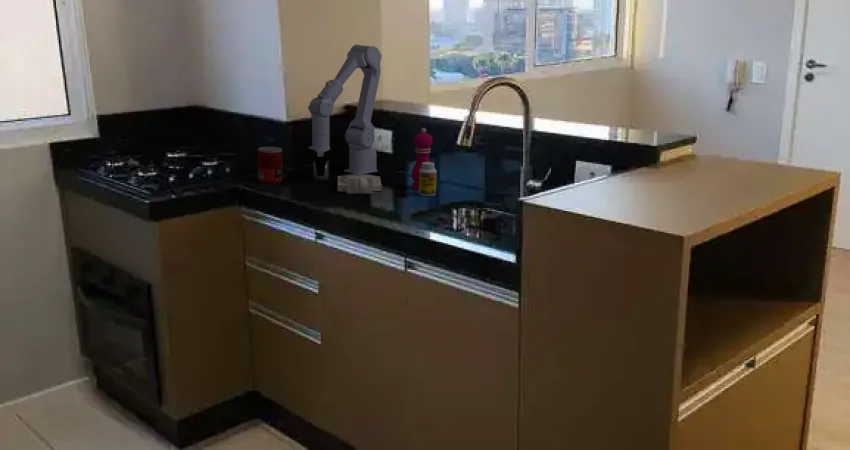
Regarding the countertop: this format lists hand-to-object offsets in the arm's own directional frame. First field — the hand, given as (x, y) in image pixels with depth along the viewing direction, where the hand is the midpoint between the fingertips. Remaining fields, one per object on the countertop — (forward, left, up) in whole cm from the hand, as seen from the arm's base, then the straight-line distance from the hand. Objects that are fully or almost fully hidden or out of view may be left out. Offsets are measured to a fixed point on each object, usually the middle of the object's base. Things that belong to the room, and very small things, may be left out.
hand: (321, 173), depth 278 cm
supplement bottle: (-10, +40, -2) cm, 41 cm away
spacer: (0, 0, -2) cm, 2 cm away
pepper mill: (-15, +33, -2) cm, 36 cm away
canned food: (+16, -7, -2) cm, 18 cm away
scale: (0, +19, -2) cm, 19 cm away
